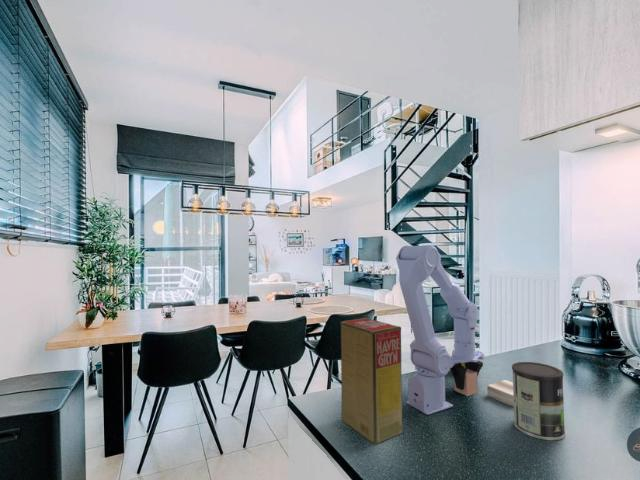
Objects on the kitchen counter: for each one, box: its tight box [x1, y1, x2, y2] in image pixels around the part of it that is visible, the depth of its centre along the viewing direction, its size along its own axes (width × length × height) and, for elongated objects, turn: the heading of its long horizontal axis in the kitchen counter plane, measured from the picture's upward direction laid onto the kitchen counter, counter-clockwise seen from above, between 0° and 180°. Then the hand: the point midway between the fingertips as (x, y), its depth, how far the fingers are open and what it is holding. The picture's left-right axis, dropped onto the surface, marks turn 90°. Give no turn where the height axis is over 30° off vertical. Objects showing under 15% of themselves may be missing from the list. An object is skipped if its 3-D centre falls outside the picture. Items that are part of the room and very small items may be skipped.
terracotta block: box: [453, 369, 479, 397], centre depth 101 cm, size 4×4×6 cm
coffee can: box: [511, 361, 566, 442], centre depth 80 cm, size 10×10×14 cm
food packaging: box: [340, 317, 404, 446], centre depth 83 cm, size 13×9×25 cm
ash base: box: [486, 379, 514, 408], centre depth 96 cm, size 8×8×3 cm
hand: (465, 386), depth 101 cm, fingers closed on terracotta block, 4 cm apart
